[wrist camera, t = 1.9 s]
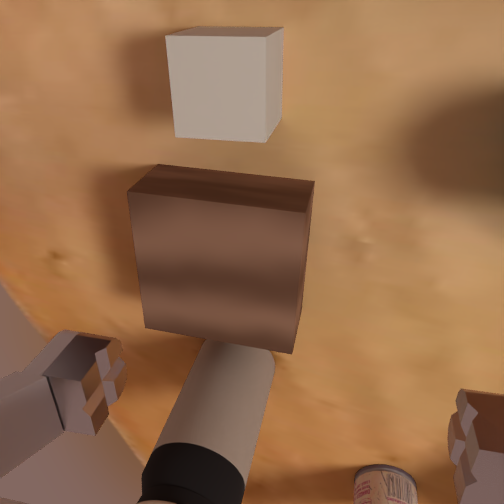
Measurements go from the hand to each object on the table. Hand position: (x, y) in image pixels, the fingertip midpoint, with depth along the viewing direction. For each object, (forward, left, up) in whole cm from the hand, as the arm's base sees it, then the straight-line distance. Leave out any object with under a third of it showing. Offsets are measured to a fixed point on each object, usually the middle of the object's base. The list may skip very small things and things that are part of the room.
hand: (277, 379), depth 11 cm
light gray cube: (-3, -7, -26) cm, 27 cm away
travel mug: (+25, -8, -26) cm, 37 cm away
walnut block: (+11, -8, -26) cm, 29 cm away
